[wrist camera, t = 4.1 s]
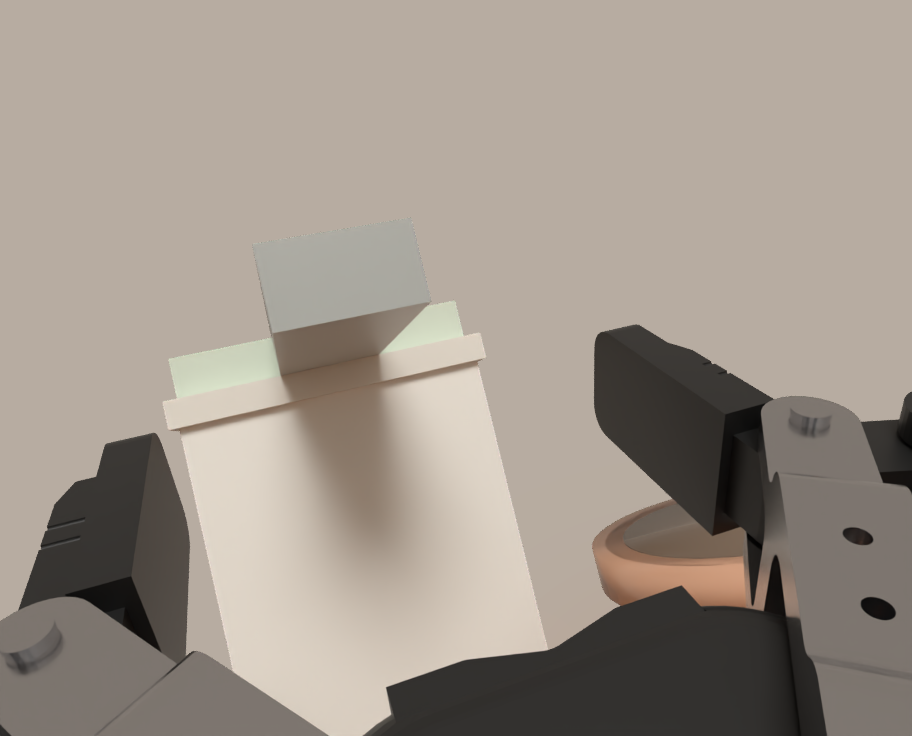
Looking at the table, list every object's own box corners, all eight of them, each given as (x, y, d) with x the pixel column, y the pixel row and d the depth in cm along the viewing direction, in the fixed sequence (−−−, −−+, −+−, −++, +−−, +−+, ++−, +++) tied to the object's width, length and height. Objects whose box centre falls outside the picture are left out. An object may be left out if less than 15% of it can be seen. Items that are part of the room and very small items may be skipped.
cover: (86, 370, 14) (66, 275, 14) (219, 416, 38) (211, 381, 38) (576, 272, 16) (556, 193, 16) (407, 373, 40) (399, 341, 41)
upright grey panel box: (379, 1382, 21) (162, 401, 23) (339, 951, 39) (219, 419, 41) (691, 1190, 24) (480, 332, 26) (521, 871, 42) (403, 377, 44)
